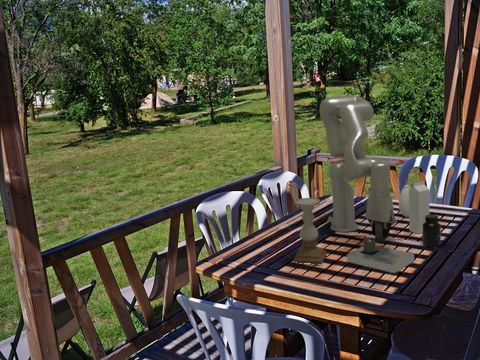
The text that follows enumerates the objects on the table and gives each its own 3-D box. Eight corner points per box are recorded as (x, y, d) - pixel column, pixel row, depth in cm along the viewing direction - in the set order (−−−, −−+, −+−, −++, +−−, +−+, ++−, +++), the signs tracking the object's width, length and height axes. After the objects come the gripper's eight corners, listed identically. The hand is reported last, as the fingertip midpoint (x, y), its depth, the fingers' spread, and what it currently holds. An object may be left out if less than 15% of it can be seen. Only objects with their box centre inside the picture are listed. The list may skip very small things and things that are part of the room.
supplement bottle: (442, 247, 206) (441, 218, 204) (423, 247, 208) (423, 218, 206) (439, 241, 213) (439, 213, 211) (421, 242, 215) (421, 213, 212)
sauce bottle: (398, 218, 248) (397, 181, 244) (399, 214, 255) (398, 178, 251) (415, 219, 245) (415, 181, 241) (416, 214, 252) (415, 178, 248)
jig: (347, 261, 200) (346, 241, 198) (367, 251, 209) (366, 232, 208) (394, 273, 186) (393, 252, 184) (413, 261, 195) (413, 240, 193)
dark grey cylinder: (372, 240, 212) (372, 222, 210) (378, 237, 215) (378, 219, 213) (382, 243, 208) (382, 224, 207) (388, 239, 211) (388, 221, 209)
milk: (409, 231, 229) (408, 182, 225) (419, 228, 232) (418, 179, 227) (419, 234, 224) (418, 184, 219) (430, 231, 226) (429, 181, 222)
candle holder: (321, 265, 198) (318, 204, 193) (293, 264, 202) (289, 204, 197) (327, 255, 208) (324, 197, 203) (300, 254, 212) (296, 197, 207)
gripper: (356, 191, 210) (357, 234, 215) (394, 197, 198) (394, 243, 203) (367, 187, 215) (367, 229, 220) (404, 193, 203) (404, 237, 208)
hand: (380, 235), depth 211 cm, fingers closed on dark grey cylinder, 4 cm apart
